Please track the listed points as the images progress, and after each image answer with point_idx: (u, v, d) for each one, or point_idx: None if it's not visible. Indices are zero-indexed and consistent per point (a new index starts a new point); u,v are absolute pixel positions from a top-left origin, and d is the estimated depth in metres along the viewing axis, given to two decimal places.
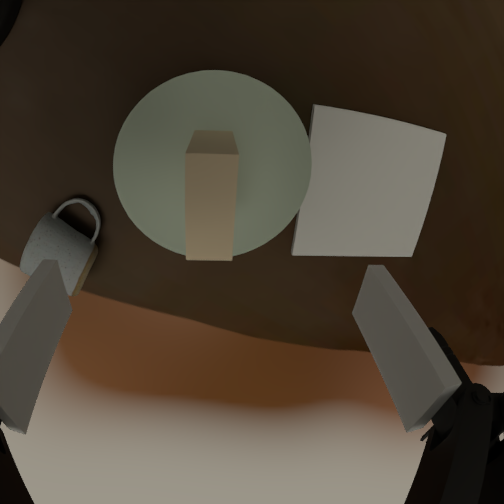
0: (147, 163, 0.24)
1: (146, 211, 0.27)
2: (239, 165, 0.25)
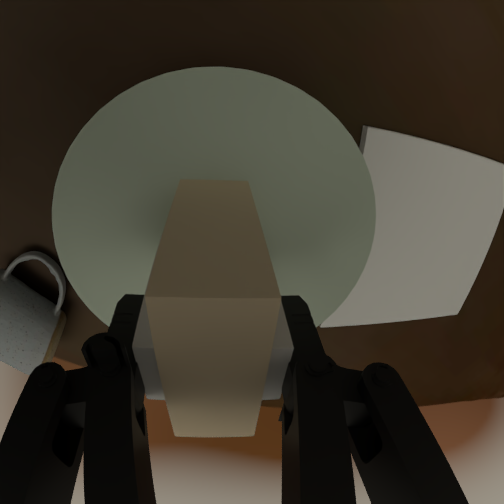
0: (104, 234, 0.14)
1: (112, 303, 0.16)
2: None
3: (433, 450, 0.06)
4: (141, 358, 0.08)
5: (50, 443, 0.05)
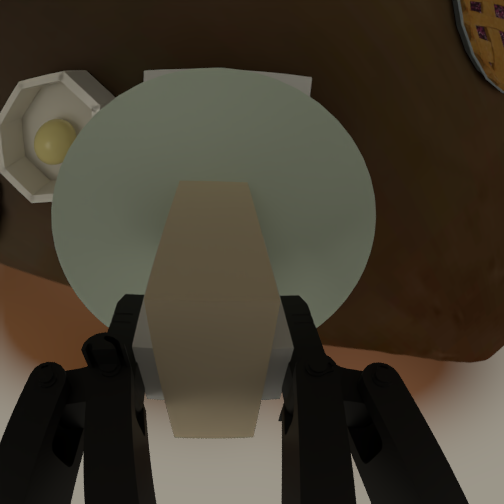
0: (103, 235, 0.14)
1: (112, 304, 0.16)
2: None
3: (433, 450, 0.06)
4: (141, 358, 0.08)
5: (50, 443, 0.05)
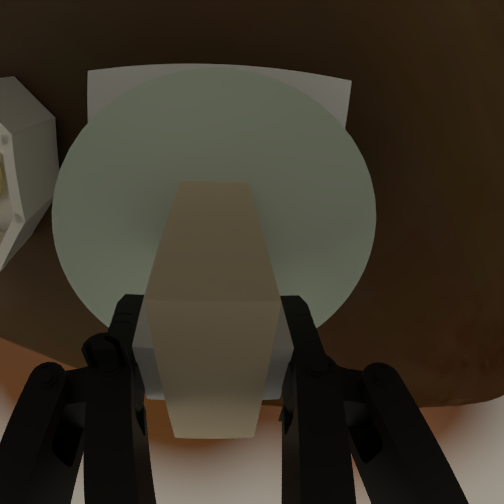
0: (104, 235, 0.14)
1: (112, 304, 0.16)
2: None
3: (433, 450, 0.06)
4: (141, 358, 0.08)
5: (50, 443, 0.05)
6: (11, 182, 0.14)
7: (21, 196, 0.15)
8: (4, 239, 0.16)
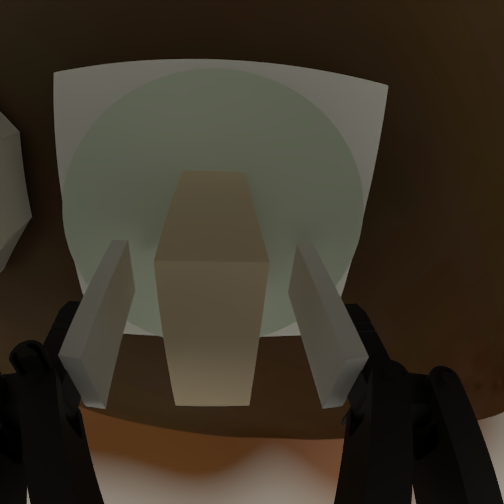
0: (111, 221, 0.15)
1: None
2: None
3: (481, 450, 0.05)
4: (69, 367, 0.07)
5: None
6: None
7: None
8: None
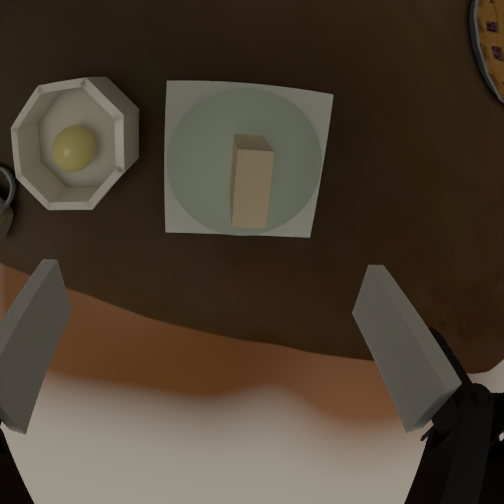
0: (195, 157, 0.32)
1: (191, 195, 0.34)
2: None
3: None
4: None
5: None
6: (118, 145, 0.27)
7: (124, 155, 0.27)
8: (103, 184, 0.28)
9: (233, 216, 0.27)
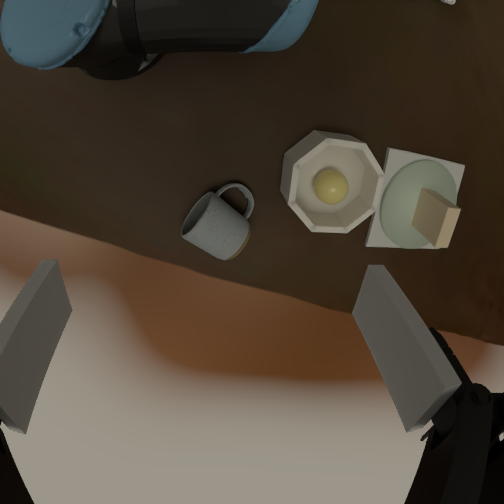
0: (399, 200, 0.48)
1: (392, 224, 0.50)
2: None
3: None
4: None
5: None
6: (377, 193, 0.43)
7: (378, 199, 0.43)
8: (360, 217, 0.44)
9: (437, 241, 0.43)
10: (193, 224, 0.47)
